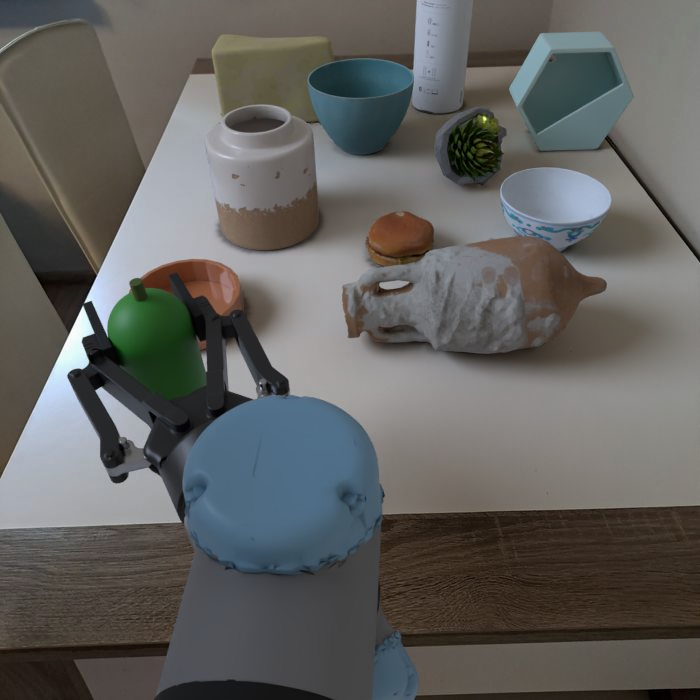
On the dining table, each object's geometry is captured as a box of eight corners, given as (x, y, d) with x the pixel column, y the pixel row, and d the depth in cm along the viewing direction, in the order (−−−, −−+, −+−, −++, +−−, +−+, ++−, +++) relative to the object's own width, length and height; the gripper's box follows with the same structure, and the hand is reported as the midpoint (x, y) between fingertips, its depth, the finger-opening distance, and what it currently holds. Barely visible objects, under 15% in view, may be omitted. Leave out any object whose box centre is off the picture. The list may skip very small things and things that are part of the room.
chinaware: (472, 230, 97) (478, 184, 92) (549, 203, 102) (558, 157, 97) (540, 283, 87) (551, 234, 82) (621, 249, 92) (636, 202, 87)
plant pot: (328, 119, 127) (324, 54, 118) (419, 127, 123) (422, 60, 115) (299, 162, 114) (293, 93, 106) (400, 172, 110) (402, 102, 102)
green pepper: (137, 433, 54) (91, 318, 45) (132, 380, 59) (89, 266, 50) (215, 414, 56) (185, 298, 47) (204, 363, 60) (174, 249, 51)
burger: (381, 276, 89) (381, 248, 86) (357, 241, 96) (357, 214, 93) (445, 261, 92) (448, 233, 89) (418, 228, 98) (419, 200, 95)
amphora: (642, 285, 66) (354, 236, 64) (585, 405, 75) (330, 365, 73) (602, 232, 78) (357, 189, 76) (557, 342, 87) (336, 306, 85)
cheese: (340, 108, 130) (337, 29, 120) (336, 129, 123) (333, 47, 113) (232, 108, 132) (219, 30, 121) (222, 130, 125) (208, 48, 114)
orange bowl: (140, 365, 78) (131, 340, 75) (130, 295, 88) (122, 271, 85) (255, 337, 81) (250, 313, 78) (233, 273, 91) (229, 249, 88)
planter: (552, 174, 118) (502, 80, 106) (542, 154, 123) (494, 63, 112) (644, 122, 111) (602, 16, 99) (630, 103, 117) (588, 1, 105)
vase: (321, 196, 105) (314, 94, 94) (317, 250, 94) (308, 142, 83) (228, 198, 106) (210, 97, 94) (213, 252, 95) (190, 145, 83)
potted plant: (505, 136, 112) (547, 151, 99) (453, 192, 114) (487, 214, 101) (461, 85, 106) (499, 94, 93) (407, 145, 109) (437, 162, 96)
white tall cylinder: (473, 102, 131) (489, -45, 113) (443, 120, 125) (455, -33, 107) (431, 89, 136) (440, -54, 118) (400, 105, 130) (405, -42, 112)
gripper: (101, 601, 40) (32, 373, 54) (372, 467, 47) (246, 296, 61) (60, 537, 35) (-4, 304, 49) (371, 397, 41) (234, 228, 56)
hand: (134, 300), depth 55 cm, fingers closed on green pepper, 7 cm apart
